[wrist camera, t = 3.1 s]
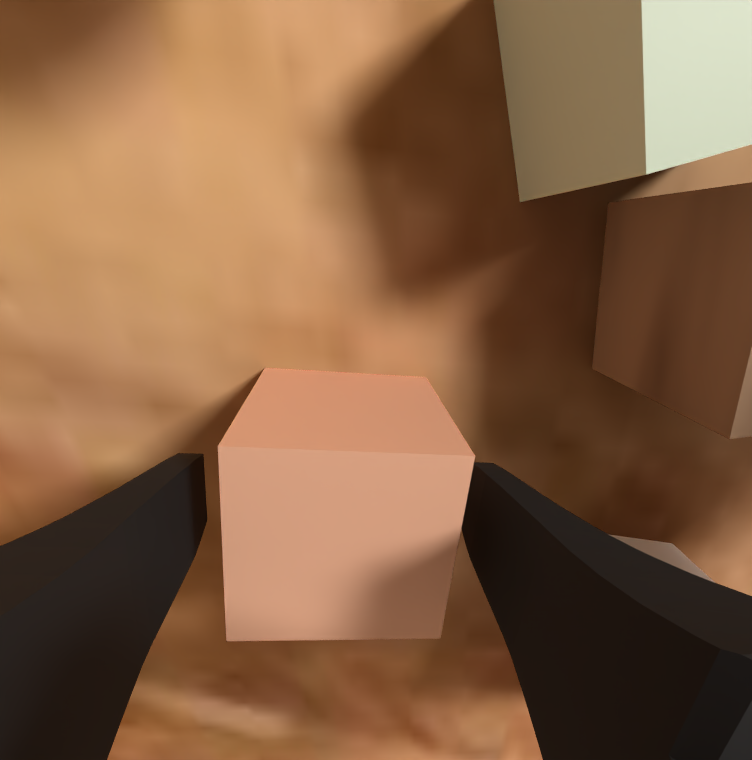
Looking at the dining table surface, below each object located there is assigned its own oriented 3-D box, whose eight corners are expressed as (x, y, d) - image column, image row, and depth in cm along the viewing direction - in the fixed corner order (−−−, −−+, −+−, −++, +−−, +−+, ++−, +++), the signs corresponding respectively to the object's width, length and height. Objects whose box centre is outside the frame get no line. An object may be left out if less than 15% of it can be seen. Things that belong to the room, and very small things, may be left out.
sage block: (691, -77, 10) (1037, -390, 5) (690, 153, 11) (944, 89, 6) (489, -18, 10) (633, -270, 5) (518, 202, 11) (645, 174, 7)
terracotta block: (425, 376, 13) (474, 456, 8) (407, 507, 14) (440, 638, 10) (265, 366, 12) (217, 446, 7) (265, 504, 14) (226, 641, 9)
